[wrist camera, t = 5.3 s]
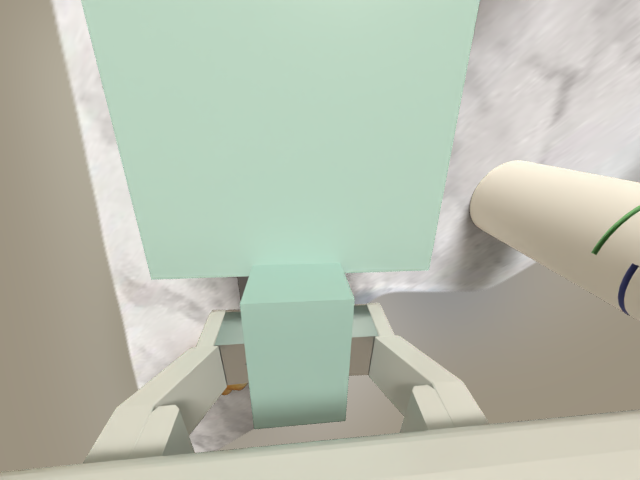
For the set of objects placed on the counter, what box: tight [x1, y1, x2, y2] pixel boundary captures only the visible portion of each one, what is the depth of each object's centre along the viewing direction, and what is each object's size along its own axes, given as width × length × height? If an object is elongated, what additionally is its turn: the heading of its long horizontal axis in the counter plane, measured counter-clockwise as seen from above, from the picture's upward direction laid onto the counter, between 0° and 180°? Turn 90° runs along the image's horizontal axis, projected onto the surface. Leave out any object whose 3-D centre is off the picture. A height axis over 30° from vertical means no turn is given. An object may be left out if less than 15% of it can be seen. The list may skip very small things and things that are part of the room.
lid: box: [81, 0, 480, 429], centre depth 7 cm, size 10×17×3 cm, turn 179°
